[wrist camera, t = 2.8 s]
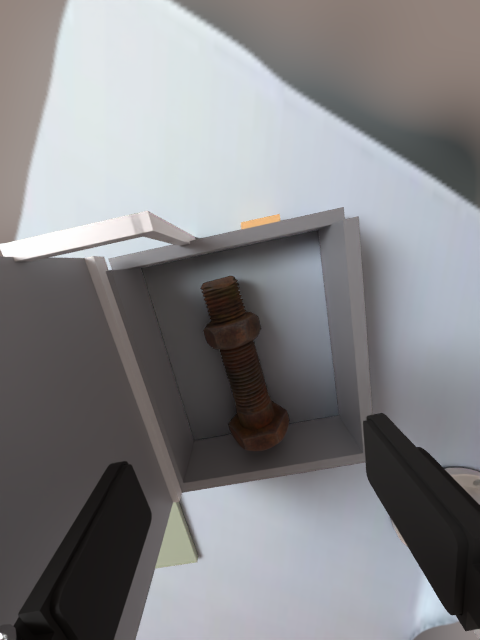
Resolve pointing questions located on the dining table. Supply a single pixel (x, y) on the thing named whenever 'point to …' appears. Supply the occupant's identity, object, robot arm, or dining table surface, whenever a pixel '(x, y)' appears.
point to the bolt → (242, 367)
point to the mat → (176, 541)
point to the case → (139, 388)
